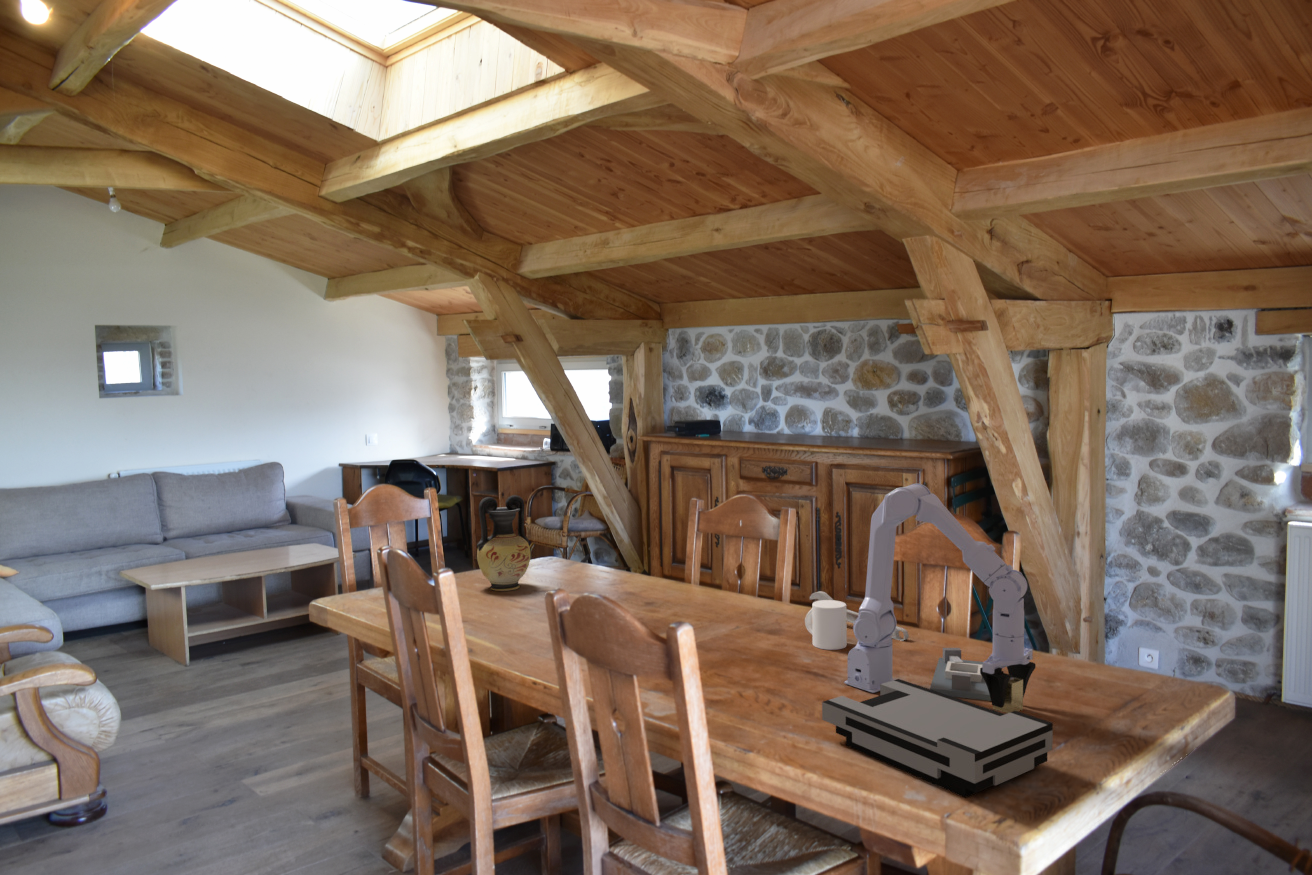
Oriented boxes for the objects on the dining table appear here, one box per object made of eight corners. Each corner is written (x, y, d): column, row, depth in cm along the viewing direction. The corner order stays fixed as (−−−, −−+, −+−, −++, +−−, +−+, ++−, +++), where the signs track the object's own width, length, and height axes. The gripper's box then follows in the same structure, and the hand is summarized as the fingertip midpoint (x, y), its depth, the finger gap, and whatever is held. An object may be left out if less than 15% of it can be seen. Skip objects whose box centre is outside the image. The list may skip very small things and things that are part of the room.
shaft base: (992, 700, 177) (992, 680, 176) (929, 693, 181) (929, 673, 181) (995, 668, 197) (995, 649, 197) (939, 662, 202) (939, 644, 201)
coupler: (1011, 714, 170) (1011, 680, 169) (992, 708, 173) (992, 675, 172) (1022, 709, 172) (1023, 676, 172) (1004, 703, 175) (1004, 671, 175)
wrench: (903, 653, 219) (807, 617, 241) (907, 651, 220) (811, 616, 242) (906, 622, 218) (810, 589, 240) (910, 620, 219) (814, 588, 241)
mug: (829, 609, 210) (794, 600, 220) (829, 652, 211) (795, 640, 221) (853, 604, 215) (818, 595, 225) (853, 645, 216) (818, 635, 225)
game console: (898, 713, 172) (898, 672, 171) (1052, 771, 145) (1052, 722, 145) (822, 739, 160) (822, 695, 159) (974, 806, 133) (974, 754, 133)
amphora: (514, 579, 297) (512, 491, 295) (541, 587, 284) (539, 495, 282) (467, 587, 286) (465, 496, 284) (493, 596, 273) (491, 500, 271)
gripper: (1006, 644, 164) (1006, 716, 165) (1047, 631, 173) (1046, 698, 174) (972, 636, 170) (972, 705, 170) (1014, 623, 178) (1013, 689, 179)
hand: (1007, 701), depth 172 cm, fingers open, 6 cm apart
